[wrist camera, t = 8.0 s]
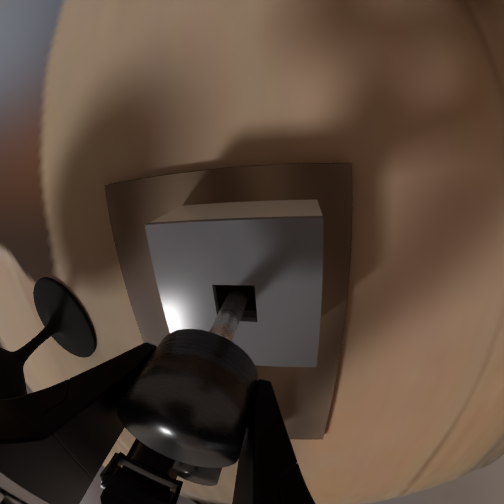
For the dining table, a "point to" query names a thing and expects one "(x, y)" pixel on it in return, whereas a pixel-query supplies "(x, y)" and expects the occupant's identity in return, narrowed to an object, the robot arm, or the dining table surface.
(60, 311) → the wine glass
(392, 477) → the dining table surface
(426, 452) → the dining table surface
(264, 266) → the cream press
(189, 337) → the black plunger
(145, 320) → the walnut board
